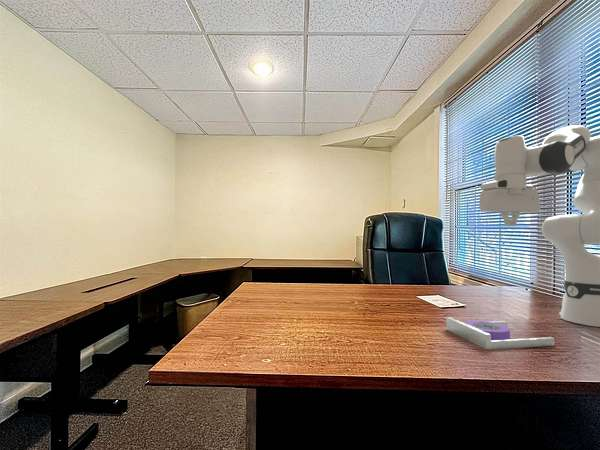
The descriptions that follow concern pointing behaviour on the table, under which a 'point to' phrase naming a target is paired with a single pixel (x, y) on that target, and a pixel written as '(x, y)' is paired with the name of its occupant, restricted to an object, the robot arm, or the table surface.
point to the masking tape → (492, 329)
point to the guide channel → (485, 338)
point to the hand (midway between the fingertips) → (510, 226)
